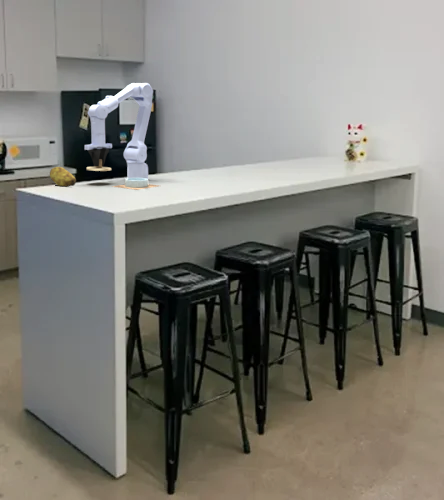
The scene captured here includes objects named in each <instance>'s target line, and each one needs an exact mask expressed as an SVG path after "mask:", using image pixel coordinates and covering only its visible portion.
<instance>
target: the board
mask: <svg viewBox="0 0 444 500" xmlns="http://www.w3.org/2000/svg"><path fill="white" fill-rule="evenodd" d="M111 187H112V188H118V189H126V190H127V189H129V190H135V191H136V190H137V191H139V190H145V189H150V188H157V187H158V188H159V187H160V185H158V184H149V183H148V187H144V188H131V187H126V186H125V184H119V185H113V186H111Z"/></svg>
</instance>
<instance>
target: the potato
mask: <svg viewBox="0 0 444 500" xmlns="http://www.w3.org/2000/svg"><path fill="white" fill-rule="evenodd" d="M49 177H50V179H51V180H52V181H53V182H54V183H55V184H56V185H57V186H58V187H73V186H74V185H76V183H77V179H76V177H75V176H74V175H73V174H72V173H71V172H70V171H69V170H67V169H65V168H64V167H62V166H55V167H53V168H51V169H50V170H49Z"/></svg>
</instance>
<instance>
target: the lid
mask: <svg viewBox="0 0 444 500" xmlns="http://www.w3.org/2000/svg"><path fill="white" fill-rule="evenodd" d="M86 171H93V172H94V171H95V172H99V171H100V172H107V171H112V167H108V166H102V159H99V166H87V167H86Z"/></svg>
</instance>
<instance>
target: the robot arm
mask: <svg viewBox="0 0 444 500" xmlns="http://www.w3.org/2000/svg"><path fill="white" fill-rule="evenodd" d="M153 95H154V89H153V88H152V86H151V85H150V83H148V82H142V83H141V82H136V83H135V82H132V83H130V84H128V85H126V87H125V88H123V89H122V90H121V91H119V92H118V93H117V94H115V95H114V96H113V95H106V96H105V98H104V99H102V100H100V101H98V102H97V104H92V105H91V106H90V107H89V108H88V111H87V114H88V117H89V119H90V126H91V127H90V129H91V135H90V136H91V143H90V144H84V151H86V150H87V151H88V154H89V155H90V157H91V160H92V163H93V167H96V166H99V159H102V167H105V162H106V159H107V156H108V154H109V152H110V149H112V148H113V143H108V142H107V143H106V119H107V117H108V114H110V113H111V112H113V111H114V110H116V109H117V108H118V107H119V104H120V103H122V102H123V101H125V100H127V99H129V98H130V97H131V98H132V99H133V101H135V102H136V103H137V104H138V111H137V115H136V119H135V124H134V128H133V133H132V138H131V140H130V141H129V142H128V143H127V145H126V147H125V149H124V151H123V158H124V159H125V161H126V167H127V169H126V170H127V171H126V172H127V178H147V179H148V180H149V166H148V164H147V162H146V163H145V161H147V157H148V154H147V150H148V147H147V145H146V144H145V138H146V134H147V130H148V126H149V120H150V116H151V112H152V107H153Z"/></svg>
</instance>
